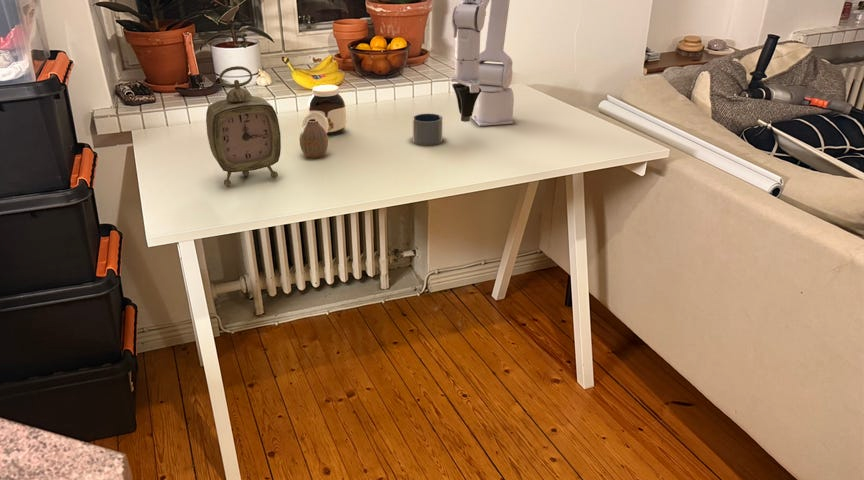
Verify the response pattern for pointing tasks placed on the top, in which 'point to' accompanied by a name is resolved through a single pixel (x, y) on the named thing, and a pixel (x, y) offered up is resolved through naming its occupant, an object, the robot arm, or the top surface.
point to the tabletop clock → (243, 131)
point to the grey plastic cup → (427, 129)
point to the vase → (313, 139)
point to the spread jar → (327, 109)
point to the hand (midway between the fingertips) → (465, 114)
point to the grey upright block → (464, 118)
